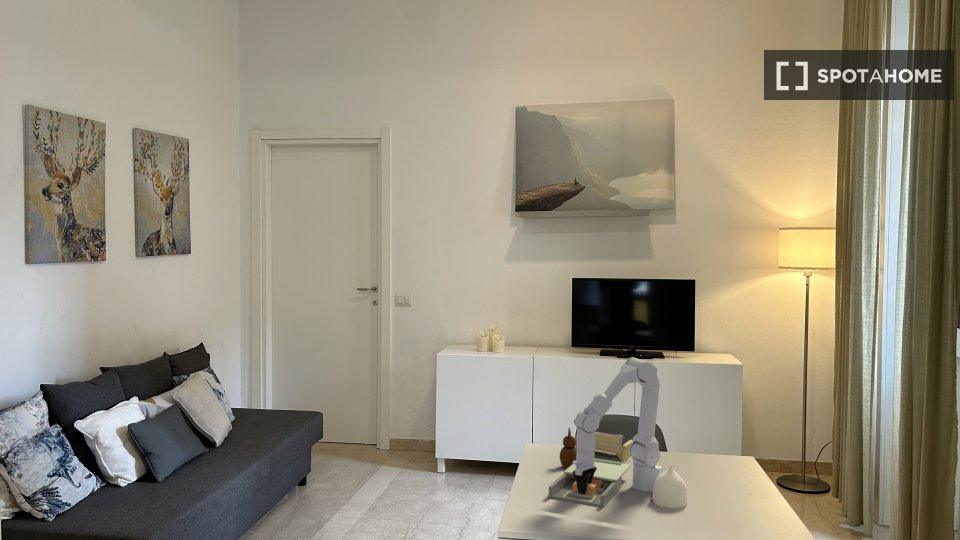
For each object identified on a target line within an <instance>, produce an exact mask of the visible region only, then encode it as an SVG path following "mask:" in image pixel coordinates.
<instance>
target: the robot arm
mask: <svg viewBox="0 0 960 540" xmlns="http://www.w3.org/2000/svg"><path fill="white" fill-rule="evenodd" d="M633 383H634V384H636V383H638V384H639V385H640V386H641V397H640V398H641V399H640V407H639V408H640V409H639V417H638V427H637V434H635V435H634V436H633V437H632V440H633V442H632V444H631V446H630V450H629V452H630V455H631V457H630V458H632V462H633V463H632V464H633V465H632V488H633V489H635V490H637V491H643V492H651V493H653V486H654V483H655V480H656V479H657V478H658V477H659V476H660V474H662V473H663V467H662V466H661V465H658V463H659V461H660V458H661V453H660V452H661V451H660V450H659V449H660V448H659V447H660V444H659V442H658V440H657V438H656V437H655V433H656V423H657V414H658V406H659V404H658V403H659V394H660V386H661V384H660V380H659V376H658V368H657V367H656V366H655V365H654V364H653V363H652V362H651V361H648V360H642V359H639V358H637V357H634V356H632V357H629V358H628V359H626V361H625V362H624V363H623V364H622V365H621V367H620V371H619V372H618V373H617V375H616V376H615V378H614V379H613V380H612V382H611V383H610V384H609V386H607V388H606V390H605V391H604V392H603V393H598V394H597V395H594V396H593V398H592V399H593V400H591V402H590V403H589V404H588V405H587V407H585V408H584V409H583V410H582V411H580V412H578V413H577V414H576V416H575V419H573V424H574V426H575V427H576V432H577V433H576V436H577V455H576V461H573V464H575V465H576V469H575V470H574V471H573V478H575V480H576V483H577V488H578V492H579V493H580V494H585V493H586V490H587V484H588V483H590V484H591V483H592V479H593V476H594V473H595V471H596V470H597V467H595V463H594V459H596V458H595V451H596V450H595V431H596V430H598V429H599V427H600V422H601V419H603V418H604V416H605V415H606V414H607V412H608V411H609V410H610V409H611V407H612V406H613V400H614V399H615V398H616V397H617V396H618V395H619V394H620V393H621V391H623V389H624V388H626V387H627V386H628V385H629V384H633Z"/></svg>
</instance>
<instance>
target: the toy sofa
mask: <svg viewBox="0 0 960 540" xmlns="http://www.w3.org/2000/svg"><path fill="white" fill-rule="evenodd" d="M574 438H575V439H576V445H575V447H576V449H577V435H575V436H574ZM625 439H626V436H624V435H622V434H614V433H607V432H601V431H596V430H595V451H601V452H606V453H611V454H615V455H616V456H617V457H618V458H619V459H618V460H620V462H621V461H624V460H625V461H627V460H629V459H630V458H632V457H631V455H630V452H629V450H630V446H631V444H632V442H633V439H629V440H628V441H626V442H625ZM624 442H625V443H624ZM629 457H630V458H629ZM626 459H627V460H626ZM625 461H624V462H625Z"/></svg>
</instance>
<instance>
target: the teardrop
mask: <svg viewBox="0 0 960 540" xmlns="http://www.w3.org/2000/svg"><path fill="white" fill-rule="evenodd" d="M651 502H653V504H655V505H657V506H659V507H663V508H669V509H680V508H685V507H687V506H688V488H687V485H686V482H685V481H684V480H683V478H682V477H681V476H680V475H679V474H678V473H677V472H676V471H675V470H674V469H673V466H672V465H670V466H669V467H668V469H667V470H665V471H663V472H662V474H660V476H659V477H658V478H657V479H656V480H655V483H654V486H653V492H652V495H651Z"/></svg>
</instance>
